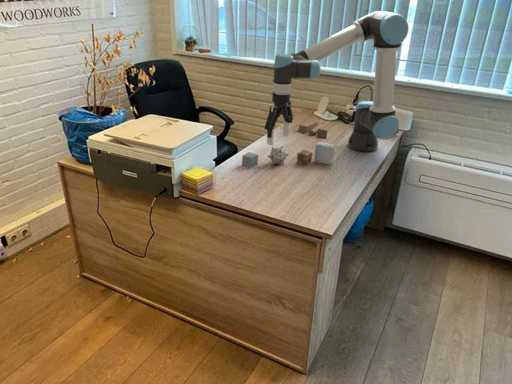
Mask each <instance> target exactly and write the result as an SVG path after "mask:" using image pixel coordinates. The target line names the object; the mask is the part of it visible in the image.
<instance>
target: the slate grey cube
mask: <svg viewBox="0 0 512 384" xmlns="http://www.w3.org/2000/svg"><path fill="white" fill-rule="evenodd" d="M241 160H242V163H241V165H242V167H246V168H250V169H253V168H255V167H256V166H258V165H259V164H258V163H259V154H257V153H253V152H250V151H249V152H247V153H244V154H243V155H242V159H241Z"/></svg>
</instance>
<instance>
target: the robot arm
mask: <svg viewBox="0 0 512 384" xmlns="http://www.w3.org/2000/svg"><path fill="white" fill-rule="evenodd" d="M409 28H410V27H409V22H408V21H407V19H406V18H405V17H404V16H403V15H402V14H400V13H396V12H392V11H391V12H390V11H384V10H377V11H373V12H370V13H368V14H367V15H364V16H362V17H361V18H358V19H357V20H355V21H353V22H352V25H350V26H347V27H345V28H344V29H342V30H340V31H338V32H336V33H334V34H332V35H330V36H329V37H327V38H324V39H322V40H320V41H318V42H317V43H315V44H313V45H310V46H309V47H307V48H305V49H303V50H301V51H299V52H294V53H289V54H287V53H286V54H284V53H283V54H282V53H279V54H276V55H275V56H274V57H275V58H274V65H273V83H272V93H271V94H272V95H271V96H272V98H271V101H272V103H274V105H273V106H269V112H268V115H267V119H266V122H265V125H264V130H266V131H267V132H266V133H267V134H266V137H267V138H266V144H267V145H271V146H274V134H275V132H274V131H275V130H274V128H275V125H276V124H277V121H278V119H279V118H280V116H282V117H283V120H284V121H283V128H282V137H286V138H289V137H290V136H289V135H290V127H291V125H290V124H292V123H293V120H294V118H293V117H294V116H293V111H292V105H291V104H292V102H291V92H292V91H291V89H292V86H291V85H292V79H295V80H296V79H299V80H300V79H305V80H307V79H310V80H312V79H318V78H319V77H320V73H321V61H323V60H325V59H326V58H329V57H330V56H333V55H335V54H336V53H339V52H340V51H343V50H345V49H347V48H349V47H350V46H352V45H354V44H357V43H358V42H359V43H363V42H366V41H368V40H373V49H375V51H376V56H375V71H374V72H375V73H374V83H373V84H374V87H373V101H369V100H367V101H366V100H363V101H359V102H358V103H357V104H356V107H355V113H354V121H353V127H352V132H351V134H350V135H349V138H348V140H347V147H349V149H352V150H354V151H358V152H365V153H368V152H374V151H376V150H378V148H379V139H382V140H386V139H389V138H391V137H393V135H395V134H396V132H397V131H398V129H399V126H400V121H399V119H398V117H396V106H394V104H393V103H394V92H395V91H394V90H395V82H396V81H395V80H396V71H397V70H396V69H397V58H398V51H399V50H400V49H401V48H402V45H403V42H404V41H405V39H406V38H407V36H408V33H409ZM378 138H379V139H378Z"/></svg>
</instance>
